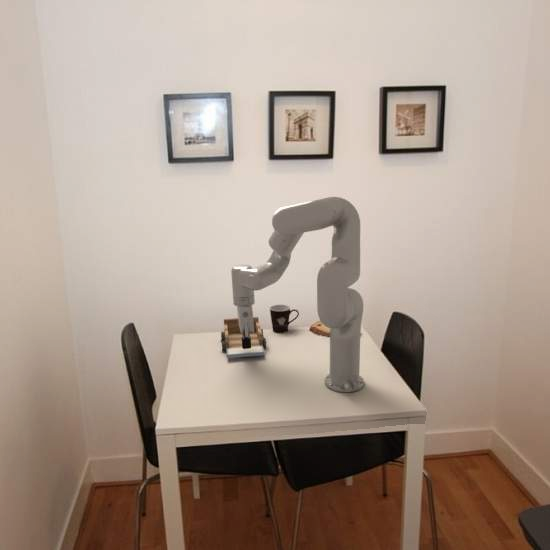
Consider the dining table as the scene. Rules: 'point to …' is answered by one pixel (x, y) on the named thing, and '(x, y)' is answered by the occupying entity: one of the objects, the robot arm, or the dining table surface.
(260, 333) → the truck bed
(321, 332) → the bread slice
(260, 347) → the panel
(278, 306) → the coffee mug
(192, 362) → the dining table surface
